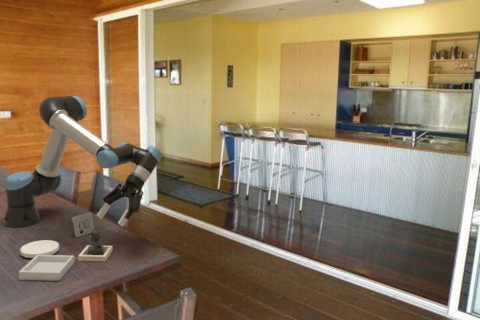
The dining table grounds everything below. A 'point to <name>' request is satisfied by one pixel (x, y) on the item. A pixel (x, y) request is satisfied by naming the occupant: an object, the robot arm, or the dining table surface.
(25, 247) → the cream gear
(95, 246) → the chess piece
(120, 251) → the dining table surface
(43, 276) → the parts tray
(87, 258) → the socket collar
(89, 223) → the electrical switch
